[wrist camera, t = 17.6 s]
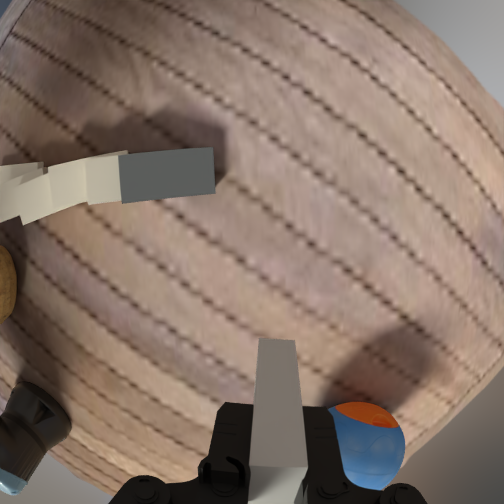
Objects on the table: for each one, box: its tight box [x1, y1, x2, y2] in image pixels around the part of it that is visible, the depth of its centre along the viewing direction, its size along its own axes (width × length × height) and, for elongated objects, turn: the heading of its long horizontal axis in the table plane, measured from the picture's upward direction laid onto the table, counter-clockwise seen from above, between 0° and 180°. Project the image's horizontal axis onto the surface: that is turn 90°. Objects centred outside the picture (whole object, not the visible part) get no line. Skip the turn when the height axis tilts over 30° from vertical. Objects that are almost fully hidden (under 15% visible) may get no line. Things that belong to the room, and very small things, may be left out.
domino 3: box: [12, 173, 79, 225], centre depth 33 cm, size 2×5×10 cm
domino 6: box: [118, 147, 216, 204], centre depth 32 cm, size 2×5×10 cm
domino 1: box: [0, 162, 44, 184], centre depth 36 cm, size 2×5×10 cm
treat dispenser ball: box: [328, 402, 405, 490], centre depth 36 cm, size 16×15×15 cm
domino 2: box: [0, 167, 48, 223], centre depth 33 cm, size 2×5×10 cm
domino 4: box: [48, 150, 129, 209], centre depth 33 cm, size 2×5×10 cm
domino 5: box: [85, 153, 135, 205], centre depth 33 cm, size 2×5×10 cm
